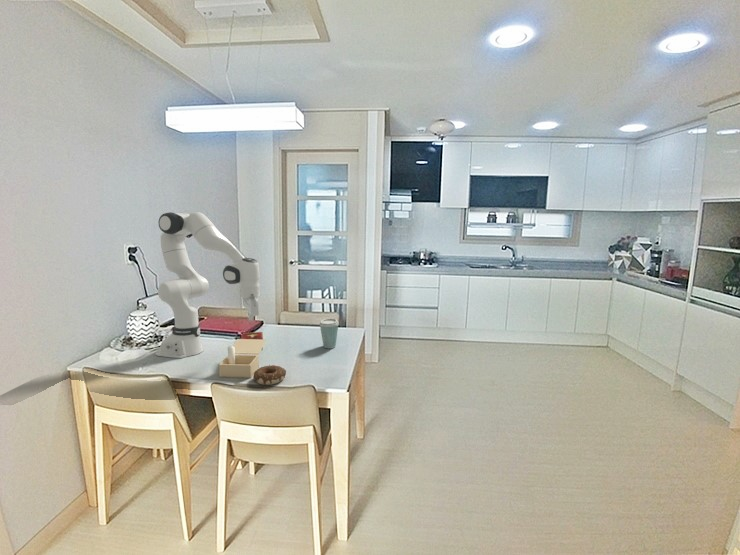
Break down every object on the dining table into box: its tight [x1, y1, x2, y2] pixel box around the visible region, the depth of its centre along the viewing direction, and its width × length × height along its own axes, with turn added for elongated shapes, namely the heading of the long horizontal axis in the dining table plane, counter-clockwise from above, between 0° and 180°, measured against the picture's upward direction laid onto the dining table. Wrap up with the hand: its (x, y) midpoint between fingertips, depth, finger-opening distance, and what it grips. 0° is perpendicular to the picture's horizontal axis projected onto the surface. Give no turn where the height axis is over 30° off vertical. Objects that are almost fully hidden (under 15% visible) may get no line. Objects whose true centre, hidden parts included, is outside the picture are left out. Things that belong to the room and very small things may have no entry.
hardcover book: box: [240, 331, 264, 351], centre depth 216 cm, size 12×21×4 cm, turn 16°
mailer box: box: [218, 345, 260, 379], centre depth 179 cm, size 14×12×11 cm
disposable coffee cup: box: [319, 317, 340, 349], centre depth 214 cm, size 11×11×15 cm
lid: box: [232, 338, 266, 355], centre depth 191 cm, size 14×12×1 cm
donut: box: [252, 364, 287, 386], centre depth 172 cm, size 14×14×5 cm
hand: (251, 320), depth 189 cm, fingers closed
